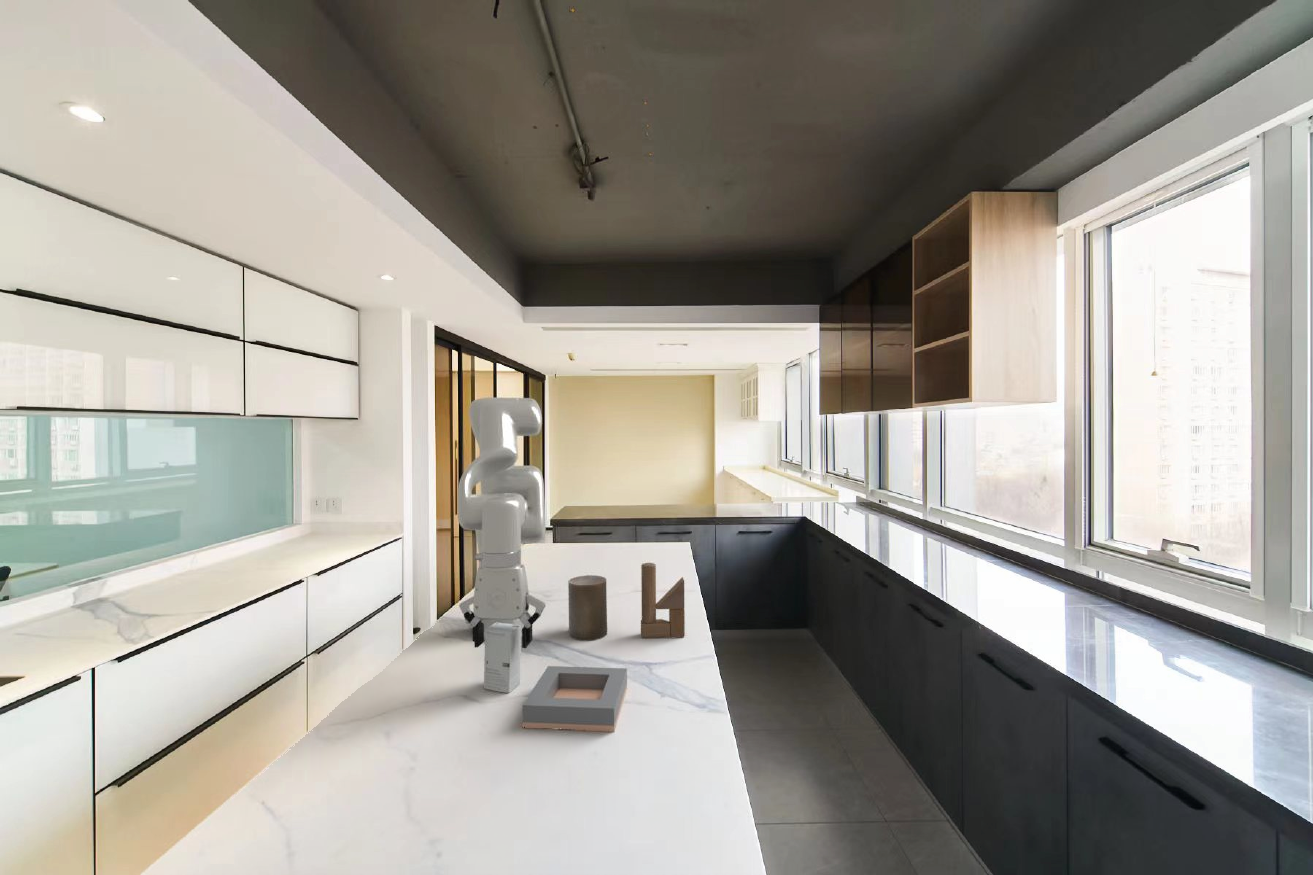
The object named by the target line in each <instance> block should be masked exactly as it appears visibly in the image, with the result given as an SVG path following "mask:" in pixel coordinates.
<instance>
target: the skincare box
mask: <svg viewBox="0 0 1313 875" xmlns="http://www.w3.org/2000/svg"><path fill="white" fill-rule="evenodd" d="M521 647H522V632H521V626H519V625H512V624H507V623H498V622H496V623H494V624H493V625H491V626H489V627H488V628H486V629H485V639H484V659H483V660H484V666H483V667H484V670H483V672H484V673H483V675H484V676H483V689H485V690H489V691H495V692H499V693H500V692H501V693H505V694H507V693H510V692H512V691H514V690H515V689H516V688H517V687H518V686H519V685H520V684H521V651H522V648H521Z"/></svg>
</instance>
